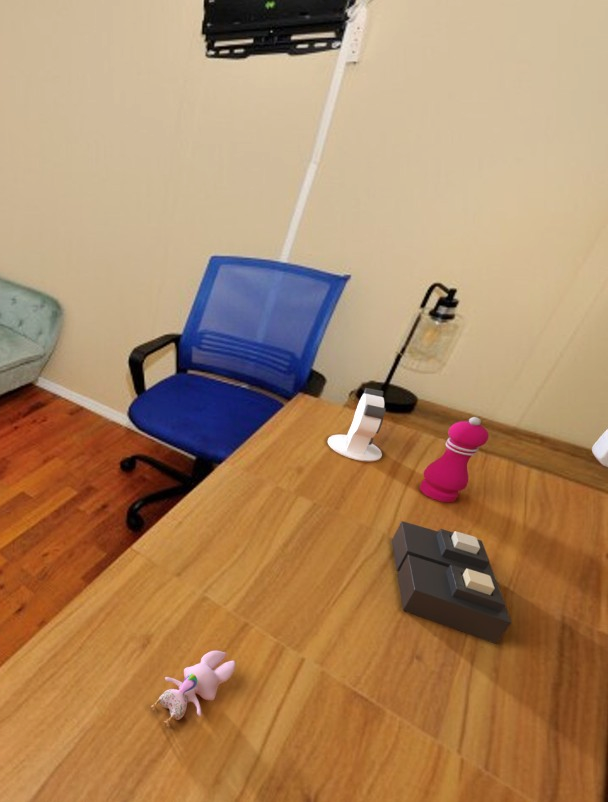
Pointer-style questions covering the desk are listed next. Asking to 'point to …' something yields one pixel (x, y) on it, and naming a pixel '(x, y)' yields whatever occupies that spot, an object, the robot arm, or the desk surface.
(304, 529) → the desk surface
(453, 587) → the high key box
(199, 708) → the rabbit figure
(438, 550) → the low key box
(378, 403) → the white curved stand
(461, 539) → the low key
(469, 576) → the high key
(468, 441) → the pepper mill
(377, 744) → the desk surface
